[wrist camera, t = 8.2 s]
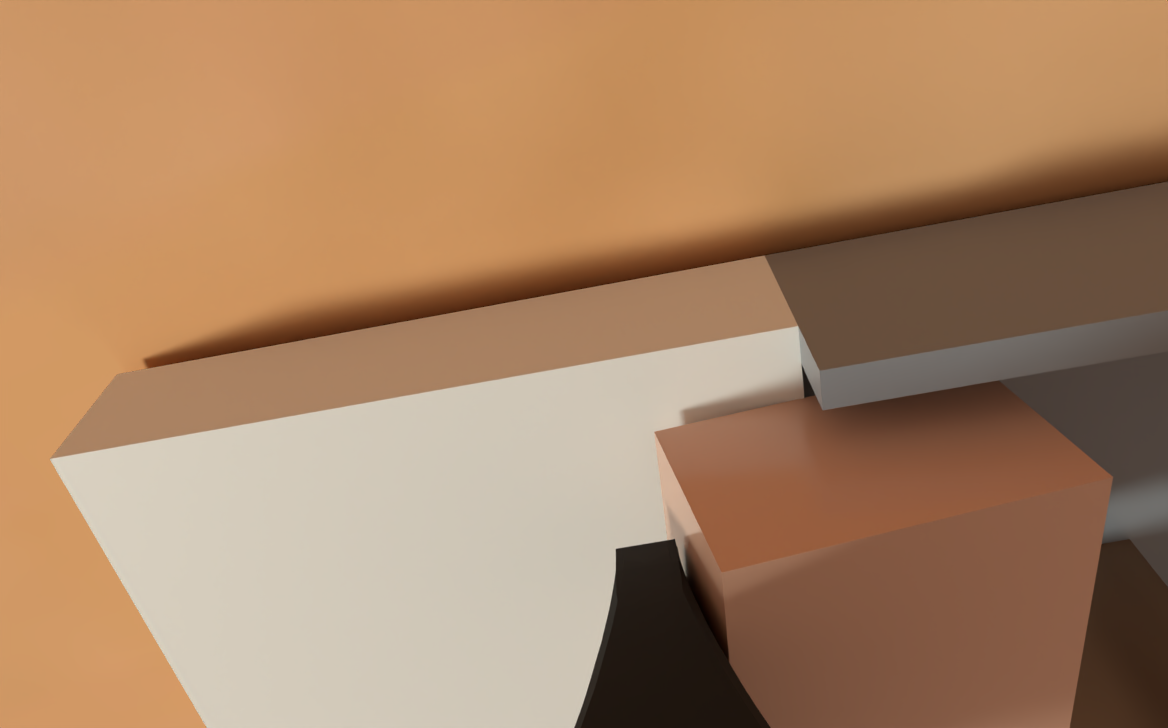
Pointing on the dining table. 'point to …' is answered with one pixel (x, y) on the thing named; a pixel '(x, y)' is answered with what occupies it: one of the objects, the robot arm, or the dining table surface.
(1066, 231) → the grey box
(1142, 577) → the walnut block
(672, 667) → the robot arm
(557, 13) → the dining table surface
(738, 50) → the dining table surface
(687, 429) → the terracotta tile
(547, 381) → the white board
